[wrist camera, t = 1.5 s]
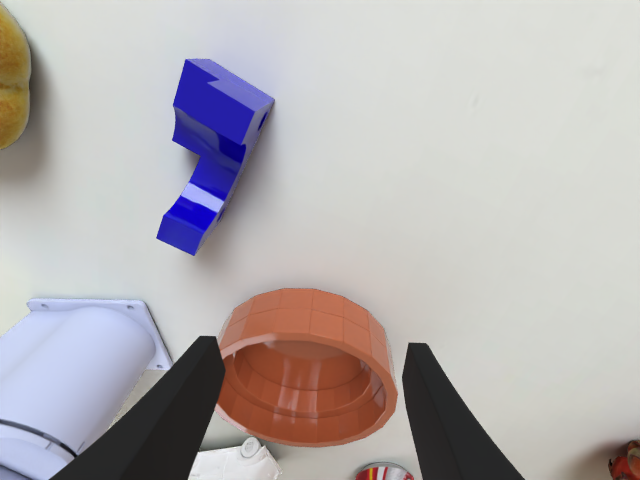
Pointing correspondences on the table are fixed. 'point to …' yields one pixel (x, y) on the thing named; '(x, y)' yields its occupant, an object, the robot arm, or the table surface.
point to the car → (236, 463)
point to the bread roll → (13, 79)
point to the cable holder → (211, 147)
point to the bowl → (305, 369)
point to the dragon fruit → (627, 464)
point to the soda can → (384, 472)
